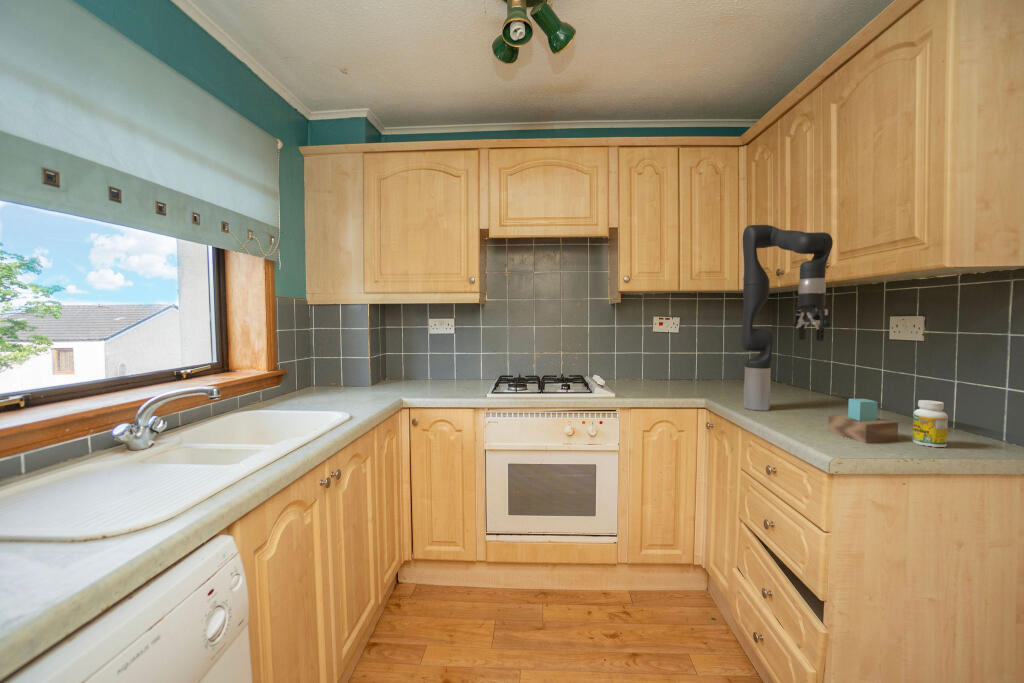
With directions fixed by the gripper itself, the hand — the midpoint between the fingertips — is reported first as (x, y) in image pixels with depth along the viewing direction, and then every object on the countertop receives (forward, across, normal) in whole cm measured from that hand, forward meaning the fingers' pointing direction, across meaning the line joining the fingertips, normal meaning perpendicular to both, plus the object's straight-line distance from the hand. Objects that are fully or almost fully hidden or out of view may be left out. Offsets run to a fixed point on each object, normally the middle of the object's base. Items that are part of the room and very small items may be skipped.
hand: (810, 340), depth 142 cm
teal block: (+24, +11, +9) cm, 28 cm away
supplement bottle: (+30, +20, +22) cm, 42 cm away
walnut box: (+30, +11, +9) cm, 34 cm away
